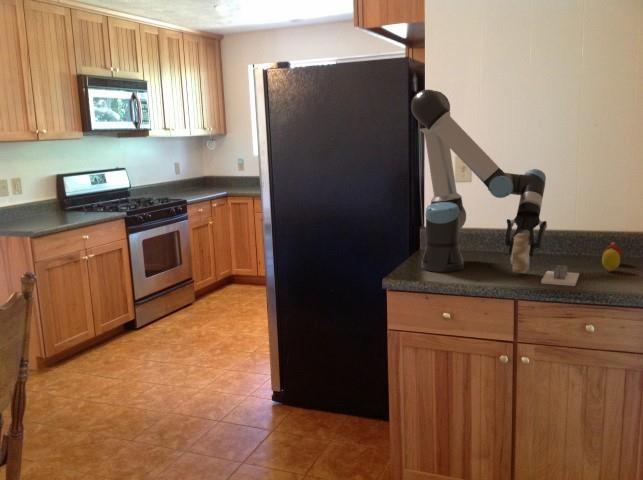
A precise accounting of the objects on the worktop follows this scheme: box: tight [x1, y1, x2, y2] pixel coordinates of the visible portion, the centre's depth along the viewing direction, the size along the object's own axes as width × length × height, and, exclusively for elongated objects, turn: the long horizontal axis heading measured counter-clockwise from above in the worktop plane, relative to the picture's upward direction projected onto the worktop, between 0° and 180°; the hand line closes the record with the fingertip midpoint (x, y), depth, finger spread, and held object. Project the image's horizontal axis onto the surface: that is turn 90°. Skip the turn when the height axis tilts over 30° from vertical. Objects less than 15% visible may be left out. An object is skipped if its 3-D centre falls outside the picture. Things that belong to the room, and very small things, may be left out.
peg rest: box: [540, 264, 580, 287], centre depth 192 cm, size 10×14×4 cm
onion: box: [603, 242, 623, 259], centre depth 211 cm, size 6×6×8 cm
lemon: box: [601, 249, 621, 273], centre depth 200 cm, size 6×6×8 cm
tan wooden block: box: [512, 232, 530, 274], centre depth 199 cm, size 4×8×12 cm, turn 152°
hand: (519, 262), depth 196 cm, fingers closed on tan wooden block, 4 cm apart
